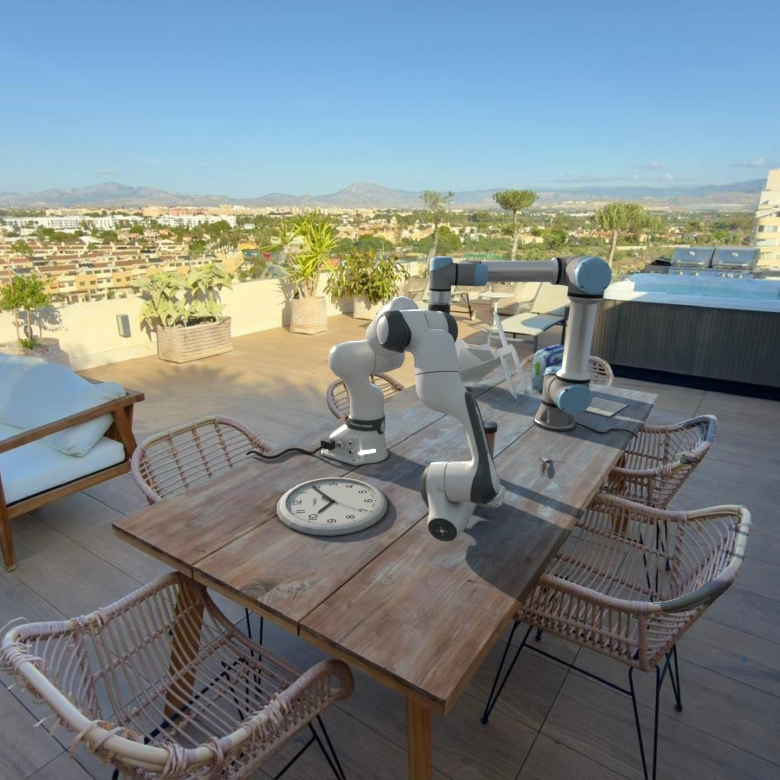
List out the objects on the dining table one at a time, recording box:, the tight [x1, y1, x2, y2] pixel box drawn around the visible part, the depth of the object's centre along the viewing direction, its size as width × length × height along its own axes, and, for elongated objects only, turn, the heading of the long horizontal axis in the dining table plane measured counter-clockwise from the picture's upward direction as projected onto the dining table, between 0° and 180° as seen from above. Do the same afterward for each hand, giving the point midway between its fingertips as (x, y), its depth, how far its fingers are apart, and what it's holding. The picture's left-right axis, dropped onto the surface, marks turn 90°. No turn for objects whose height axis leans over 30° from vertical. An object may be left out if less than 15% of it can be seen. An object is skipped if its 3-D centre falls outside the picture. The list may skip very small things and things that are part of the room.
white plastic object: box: [455, 310, 531, 400], centre depth 245 cm, size 37×45×31 cm
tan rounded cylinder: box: [486, 433, 496, 459], centre depth 159 cm, size 5×5×17 cm
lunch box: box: [530, 344, 565, 393], centre depth 247 cm, size 26×11×21 cm, turn 134°
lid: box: [482, 419, 499, 434], centre depth 156 cm, size 6×6×2 cm
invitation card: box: [584, 396, 629, 418], centre depth 226 cm, size 21×1×15 cm
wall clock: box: [276, 476, 388, 537], centre depth 142 cm, size 30×2×30 cm
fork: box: [541, 449, 551, 474], centre depth 169 cm, size 3×16×2 cm, turn 160°
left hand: (472, 476), depth 147 cm, fingers open, 8 cm apart
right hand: (436, 363), depth 185 cm, fingers open, 13 cm apart
